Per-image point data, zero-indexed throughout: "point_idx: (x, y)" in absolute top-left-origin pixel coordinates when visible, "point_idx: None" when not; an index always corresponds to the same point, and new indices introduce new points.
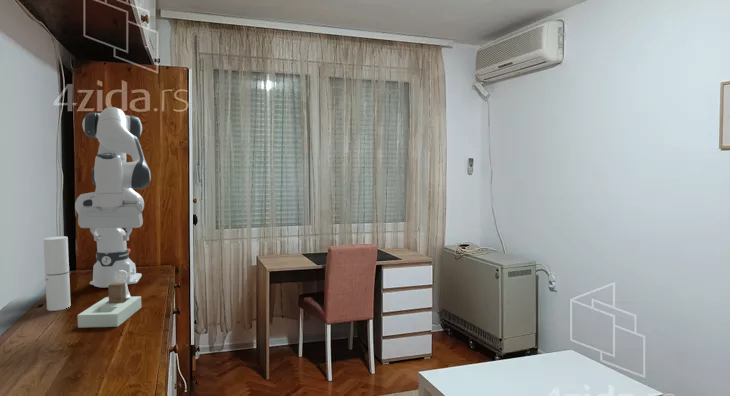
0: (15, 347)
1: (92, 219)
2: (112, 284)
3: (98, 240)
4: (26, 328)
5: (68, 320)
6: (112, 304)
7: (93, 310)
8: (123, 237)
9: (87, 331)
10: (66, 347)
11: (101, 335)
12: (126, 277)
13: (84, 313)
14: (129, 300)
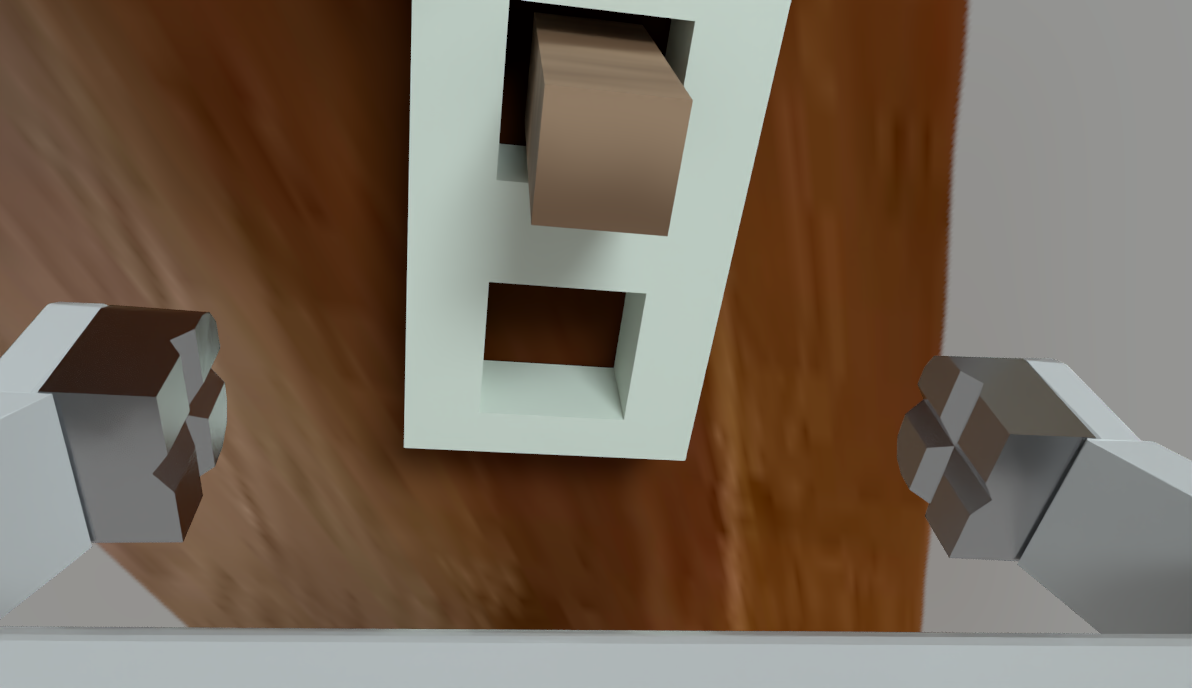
0: (227, 620)
1: None
2: (567, 191)
3: (216, 429)
4: None
5: (250, 231)
6: None
7: (477, 361)
8: (946, 525)
9: (506, 460)
10: None
11: (613, 524)
12: None
13: (439, 421)
14: (704, 112)
